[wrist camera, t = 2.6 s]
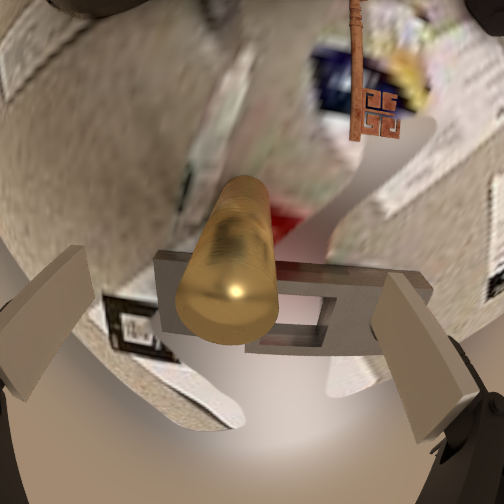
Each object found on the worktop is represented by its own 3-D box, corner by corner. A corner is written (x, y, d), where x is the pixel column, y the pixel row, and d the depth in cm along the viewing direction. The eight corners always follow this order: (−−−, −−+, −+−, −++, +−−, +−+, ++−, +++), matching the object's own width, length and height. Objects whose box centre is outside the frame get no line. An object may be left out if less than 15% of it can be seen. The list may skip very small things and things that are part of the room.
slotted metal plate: (158, 250, 23) (144, 272, 20) (419, 271, 24) (436, 292, 20) (166, 321, 27) (156, 346, 24) (392, 334, 27) (403, 357, 24)
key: (394, 145, 19) (391, -15, 12) (400, 147, 19) (396, -18, 12) (327, 137, 19) (325, -33, 12) (331, 139, 18) (329, -37, 11)
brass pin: (222, 173, 20) (171, 258, 9) (271, 177, 20) (286, 268, 9) (220, 219, 22) (179, 339, 10) (266, 222, 22) (272, 348, 10)
